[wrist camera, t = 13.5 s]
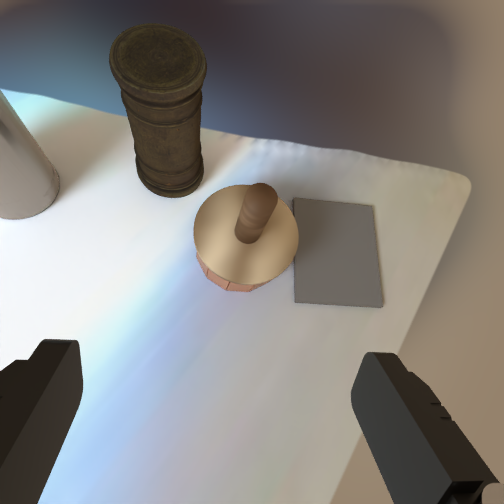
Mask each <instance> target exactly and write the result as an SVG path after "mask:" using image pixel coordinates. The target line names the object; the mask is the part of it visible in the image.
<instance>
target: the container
mask: <svg viewBox="0 0 504 504" xmlns="http://www.w3.org/2000/svg"><path fill="white" fill-rule="evenodd" d="M109 63H110V68H111V71H112V74H113V76H114V78H115V79H116V81H117V82H118V84H119V86H120V88H121V98H122V101H123V104H124V106H125V108H126V112H127V116H128V120H129V123H130V127H131V131H132V135H133V138H134V149H135V153H136V167H137V173H138V176H139V178H140V180H141V181H142V183H143V184H144V185H145V186H146V187H147V188H148V189H149V190H150V191H152V192H153V193H155V194H157V195H159V196H163V197H168V198H179V197H184V196H187V195H189V194H190V193H192V192H193V191H194V190H195V189H196V188H197V187H198V186H199V184H200V182H201V181H202V178H203V173H204V167H203V158H202V154H201V143H200V122H201V105H202V92H201V88H202V86H203V81H204V79H205V76H206V71H207V63H206V58H205V55H204V53H203V51H202V49H201V47H200V46H199V44H198V43H197V42H196V40H195V39H194V38H192V37H191V36H190V35H189V34H187V33H185V32H184V31H182V30H180V29H178V28H175V27H173V26H169V25H164V24H156V23H148V24H141V25H137V26H134V27H131V28H129V29H127V30H125V31H123V32H122V33H121V34H120V35H118V36H117V38H116V39H115V40H114V42H113V44H112V46H111V49H110V54H109Z"/></svg>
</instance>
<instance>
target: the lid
mask: <svg viewBox="0 0 504 504" xmlns="http://www.w3.org/2000/svg"><path fill="white" fill-rule="evenodd" d="M298 241H299V234H298V227H297V223H296V220H295V218H294V216H293V214H292V212H291V211H290V209H289V208H288V206H287V205H286V204H285V203H284V202H283V201H282V200H281V199H280V198H279V197H278V196H277V193H276V191H275V190H274V189H273V188H272V187H271V186H269V185H267V184H265V183H256V184H253V185H234V186H229V187H226V188H223V189H221V190H219V191H217V192H215V193H214V194H212V195H211V196H210V197H208V198H207V199H206V200H205V202H204V203H203V204H202V206H201V207H200V209H199V211H198V213H197V215H196V218H195V222H194V243H195V246H196V250H197V252H198V254H199V256H200V258H201V260H202V261H203V263H204V264H205V265H206V266H207V267H208V268H209V269H210V270H211V271H212V272H213V273H214V274H216V275H217V276H219V277H220V278H222V279H224V280H226V281H229V282H232V283H236V284H241V285H256V284H261V283H265V282H267V281H270V280H272V279H274V278H275V277H277V276H278V275H280V274H281V273H282V272H283V271H284V270H285V269H286V268H287V267H288V266H289V264H290V263H291V262H292V260H293V258H294V256H295V254H296V251H297V247H298Z"/></svg>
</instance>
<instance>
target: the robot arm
mask: <svg viewBox="0 0 504 504" xmlns="http://www.w3.org/2000/svg"><path fill="white" fill-rule="evenodd" d="M59 184H60V183H59V176H58V174H57V172H56V170H55V169H54V167H53V166H52V164H51V163H50V161H49V160H48V158H47V157H46V155H45V154H44V152H43V151H42V149H41V148H40V147H39V145H38V144H37V142H36V141H35V139H34V138H33V136H32V135H31V134H30V132H29V131H28V129H27V128H26V126H25V125H24V123H23V122H22V121H21V119H20V118H19V116H18V115H17V113H16V112H15V110H14V109H13V107H12V106H11V105H10V103H9V102H8V100H7V99H6V97H5V96H4V94H3V93H2V92H1V90H0V218H3V219H11V220H15V219H24V218H28V217H32V216H34V215H36V214H39V213H40V212H42V211H43V210H45V209H46V208H47V207H48V206H49V205H50V204H51V203H52V202H53V201H54V199H55V198H56V196H57V193H58V191H59ZM82 392H83V376H82V366H81V357H80V347H79V343H78V341H77V340H60V339H44V340H42V341H41V342H40V344H39V345H38V346H37V348H36V349H35V351H34V352H33V354H32V355H31V357H30V358H29V359H28V360H15V361H14V362H12V363H11V364H10V365H8V366H7V367H5V368H4V369H3V370H1V371H0V504H37V503H38V501H39V499H40V496H41V494H42V492H43V489H44V487H45V485H46V482H47V480H48V478H49V475H50V473H51V471H52V468H53V466H54V464H55V461H56V459H57V457H58V454H59V452H60V450H61V447H62V445H63V443H64V440H65V438H66V436H67V433H68V431H69V429H70V426H71V424H72V422H73V419H74V417H75V415H76V412H77V410H78V408H79V405H80V401H81V397H82ZM351 403H352V408H353V411H354V413H355V415H356V418H357V420H358V422H359V425H360V427H361V429H362V431H363V434H364V436H365V438H366V440H367V443H368V445H369V447H370V449H371V452H372V454H373V457H374V459H375V461H376V463H377V466H378V468H379V470H380V473H381V475H382V477H383V479H384V481H385V484H386V486H387V489H388V491H389V493H390V495H391V498H392V500H393V502H394V504H504V484H501V483H500V482H499V481H498V480H497V479H496V477H495V476H494V475H493V473H492V472H491V471H490V469H489V468H488V466H487V465H486V464H485V462H484V461H483V460H482V458H481V457H480V455H479V454H478V453H477V451H476V450H475V449H474V448H473V446H472V445H471V443H470V442H469V440H468V439H467V438H466V436H465V435H464V434H463V432H462V431H461V430H460V428H459V427H458V425H457V424H456V423H455V421H452V419H451V416H450V415H449V413H448V412H447V410H446V409H445V408H444V406H441V402H440V401H439V399H438V398H437V397H436V395H435V394H434V393H433V391H432V390H431V389H430V387H429V386H428V385H427V384H426V383H425V382H423V381H422V380H421V379H420V378H419V377H417V376H416V375H415V374H414V373H413V372H408V371H407V369H406V368H405V366H404V365H403V364H402V362H401V360H400V359H399V358H398V356H397V355H396V354H394V353H380V352H368V353H366V354H365V356H364V358H363V360H362V363H361V366H360V368H359V371H358V374H357V376H356V379H355V381H354V384H353V387H352V390H351Z"/></svg>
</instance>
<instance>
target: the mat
mask: <svg viewBox="0 0 504 504" xmlns="http://www.w3.org/2000/svg"><path fill="white" fill-rule="evenodd" d="M293 216H294V218H295V220H296V223H297V227H298V234H299V241H298V247H297V251H296V254H295V256H294V287H295V303H310V304H326V305H343V306H359V307H376V308H381V307H383V303H382V294H381V285H380V275H379V266H378V257H377V247H376V238H375V229H374V219H373V210H372V206H365V205H356V204H347V203H338V202H330V201H321V200H312V199H303V198H294V199H293Z"/></svg>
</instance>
